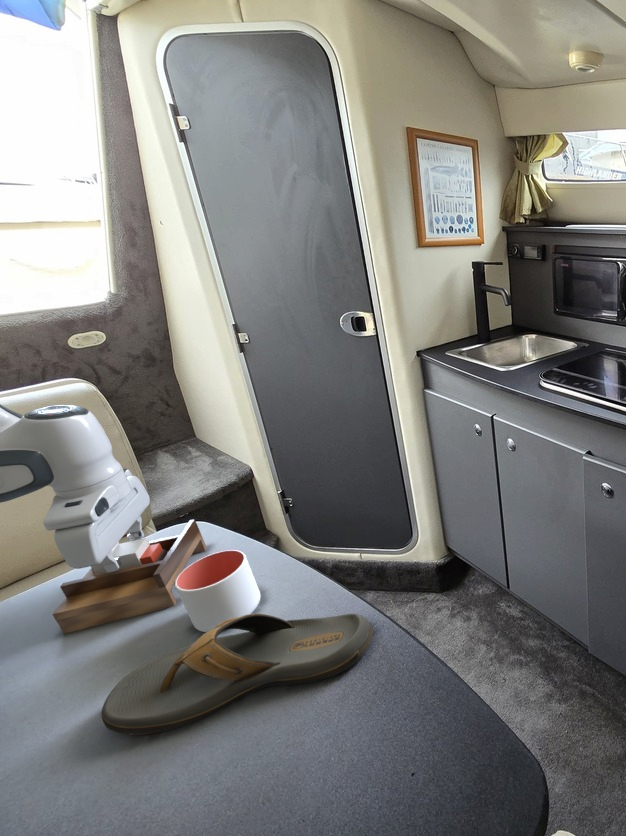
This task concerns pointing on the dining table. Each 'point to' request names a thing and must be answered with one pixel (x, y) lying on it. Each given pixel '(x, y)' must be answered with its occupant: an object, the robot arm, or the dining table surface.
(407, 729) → the dining table surface
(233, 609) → the cup
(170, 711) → the sandal
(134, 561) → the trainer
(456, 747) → the dining table surface
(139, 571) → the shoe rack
